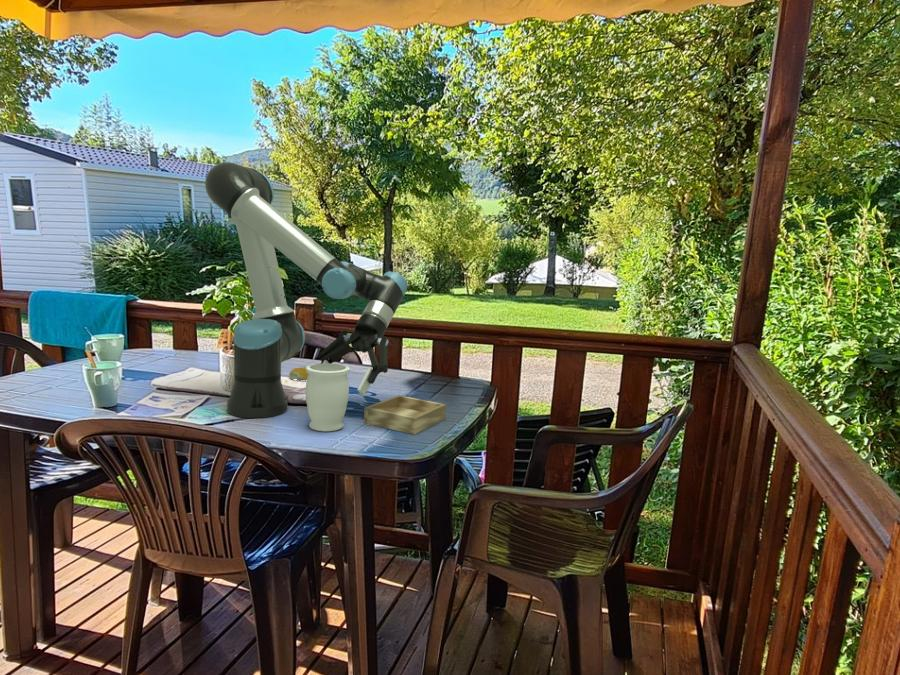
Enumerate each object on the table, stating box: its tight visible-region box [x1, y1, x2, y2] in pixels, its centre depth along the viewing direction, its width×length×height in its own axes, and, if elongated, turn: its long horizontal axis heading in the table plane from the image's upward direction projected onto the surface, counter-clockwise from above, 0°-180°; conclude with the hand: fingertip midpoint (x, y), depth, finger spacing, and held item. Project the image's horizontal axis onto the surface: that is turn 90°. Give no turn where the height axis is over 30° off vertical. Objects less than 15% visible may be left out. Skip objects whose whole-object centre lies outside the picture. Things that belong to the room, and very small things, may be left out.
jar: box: [305, 363, 350, 433], centre depth 142 cm, size 11×10×15 cm
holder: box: [363, 394, 447, 436], centre depth 151 cm, size 15×16×4 cm
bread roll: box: [288, 366, 308, 380], centre depth 191 cm, size 8×9×4 cm
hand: (337, 388), depth 143 cm, fingers open, 13 cm apart
